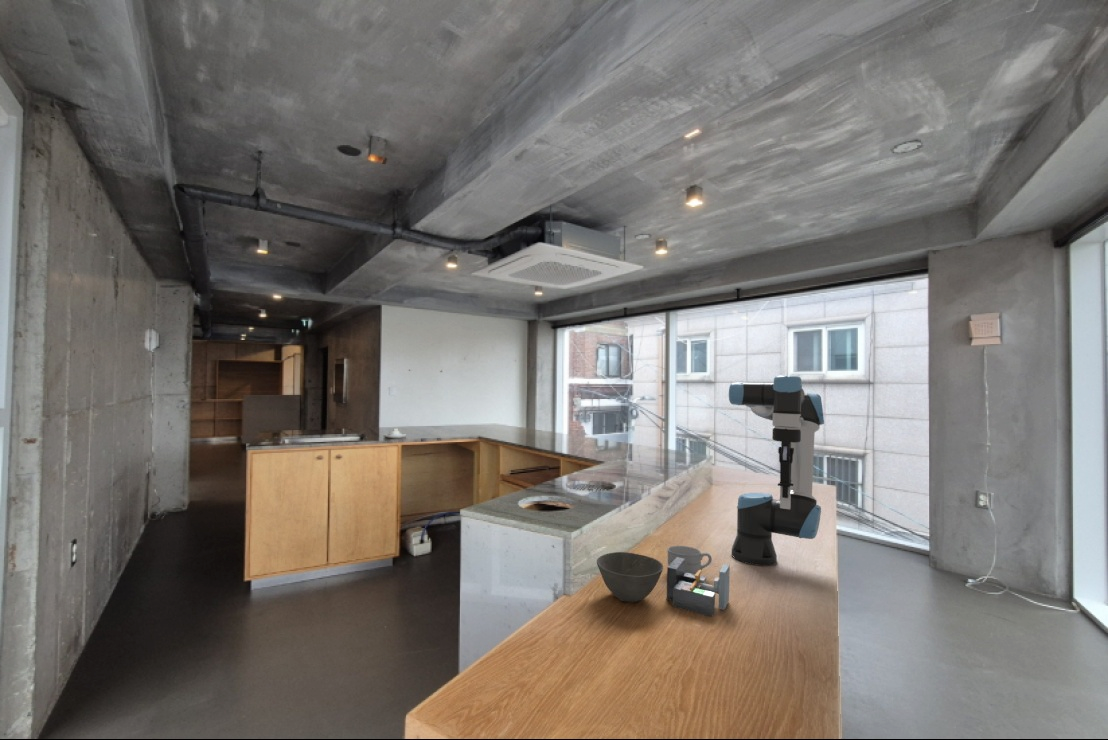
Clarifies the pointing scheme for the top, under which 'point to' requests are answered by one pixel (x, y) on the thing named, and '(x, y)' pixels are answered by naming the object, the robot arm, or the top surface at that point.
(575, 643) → the top surface
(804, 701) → the top surface
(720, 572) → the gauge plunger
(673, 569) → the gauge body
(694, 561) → the teacup
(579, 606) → the top surface
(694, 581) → the orange bar
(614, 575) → the bowl
